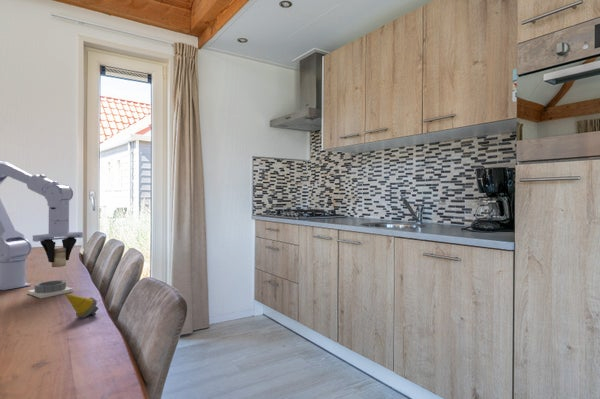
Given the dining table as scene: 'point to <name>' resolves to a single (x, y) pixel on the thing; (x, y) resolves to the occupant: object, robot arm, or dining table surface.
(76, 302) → the cone
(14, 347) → the dining table surface
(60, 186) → the robot arm
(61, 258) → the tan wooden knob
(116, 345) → the dining table surface
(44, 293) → the collar stand
